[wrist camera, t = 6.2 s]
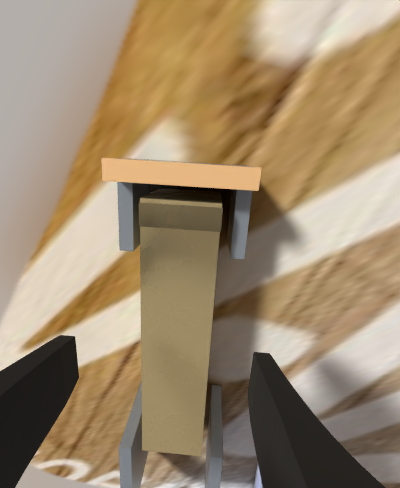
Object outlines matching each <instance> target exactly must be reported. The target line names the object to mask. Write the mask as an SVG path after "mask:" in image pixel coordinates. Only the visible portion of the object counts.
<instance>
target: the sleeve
mask: <svg viewBox="0 0 400 488" xmlns="http://www.w3.org/2000/svg"><path fill="white" fill-rule="evenodd" d="M147 454H148V451H143V450H142V381H141V383H140V386H139V389H138V392H137V395H136V398H135V401H134V404H133V407H132V410H131V413H130V416H129V419H128V422H127V425H126V428H125V431H124V434H123V437H122V440H121V443H120V446H119V464H120V486H121V488H140V485H141V480H142V476H143V472H144V467H145V463H146V459H147ZM222 463H223V437H222V399H221V386H219V385H212V388H211V399H210V410H209V421H208V432H207V443H206V472H205V488H220V480H221V472H222Z"/></svg>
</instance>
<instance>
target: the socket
mask: <svg viewBox="0 0 400 488" xmlns="http://www.w3.org/2000/svg"><path fill="white" fill-rule="evenodd" d="M260 175H261V168H260V167H252V166H242V165H225V164H209V163H193V162H177V161H161V160H145V159H121V158H102V177H103V181H114V182H117V184H118V214H119V244H120V250H123V251H134V250H135V249H136V248H137V247H138V246H139V245H140V226H139V202H140V198H141V197H143V196H145V195H147V194H149V193H150V184H160V185H176V186H191V187H207V188H222V189H232V192H231V202H230V213H229V224H228V235H227V241H228V248H229V254H230V258H231V259H245V250H246V242H247V233H248V224H249V216H250V207H251V198H252V190H253V191H259V183H260Z"/></svg>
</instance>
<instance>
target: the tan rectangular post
mask: <svg viewBox="0 0 400 488" xmlns="http://www.w3.org/2000/svg"><path fill="white" fill-rule="evenodd" d="M222 213H223V205H222V199H221V193H220V192H209V191H194V190H178V189H163V188H160V189H158V190H156V191H154V192H152V193H149V194H147V195H145V196H143V197H141V198H140V202H139V226H140V267H141V381H142V450H143V451H153V452H163V453H173V454H183V455H193V456H201V451H202V439H203V427H204V415H205V403H206V391H207V379H208V367H209V356H210V344H211V332H212V320H213V308H214V296H215V284H216V272H217V260H218V248H219V236H220V232H221V225H222Z"/></svg>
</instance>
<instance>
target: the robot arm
mask: <svg viewBox="0 0 400 488" xmlns="http://www.w3.org/2000/svg"><path fill="white" fill-rule="evenodd" d="M78 378H79V373H78V363H77V352H76V341H75V336H64V335H60V336H58V337H56V338H54V339H53V340H51V341H49V342H48V343H46V344H44V345H43V346H41V347H39V348H38V349H36V350H35V351H33V352H31V353H30V354H28V355H26V356H25V357H23V358H22V359H20V360H18V361H17V362H15V363H13V364H12V365H10V366H8V367H7V368H5V369H3V370H2V371H0V488H15V487H16V485H17V483H18V481H19V480H20V478H21V476H22V474H23V473H24V471H25V469H26V468H27V466H28V464H29V463H30V461H31V460H32V458H33V456H34V455H35V453H36V452H37V450H38V449H39V447H40V445H41V444H42V442H43V441H44V439H45V437H46V436H47V434H48V433H49V431H50V429H51V428H52V426H53V425H54V423H55V421H56V420H57V418H58V417H59V415H60V413H61V412H62V410H63V408H64V407H65V405H66V403H67V401H68V399H69V397H70V395H71V393H72V391H73V389H74V387H75V385H76V383H77V380H78ZM248 400H249V413H250V422H251V428H252V433H253V439H254V444H255V450H256V455H257V460H258V465H257V471H256V476H255V482H254V488H385V487H384V486H383V485H382V484H381V483H379V482H378V481H377V480H376V479H375V478H374V477H373V476H372V475H371V474H370V473H369V472H368V471H367V470H366V469H365V468H363V467H362V466H361V465H360V464H359V463H358V462H357V461H356V460H355V459H354V458H353V457H352V456H351V455H350V454H349V453H348V452H347V451H346V450H345V448H344V447H343V446H342V445H341V444H340V443H339V442H338V441H337V440H336V439H335V438H334V437H333V436H332V435H331V434H330V432H329V431H328V430H327V429H326V428H325V427H324V426H323V424H322V423H321V422H320V421H319V420H318V418H317V417H316V416H315V415H314V414H313V412H312V411H311V410H310V409H309V407H308V406H307V405H306V404H305V402H304V401H303V400H302V398H301V397H300V396H299V394H298V393H297V392H296V390H295V389H294V388H293V386H292V385H291V384H290V382H289V381H288V379H287V378H286V377H285V375H284V374H283V372H282V371H281V369H280V368H279V366H278V365H277V363H276V362H275V360H274V359H273V357H272V356H271V355H270V354H269V353H259V352H254V354H253V361H252V368H251V375H250V382H249V389H248Z"/></svg>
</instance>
